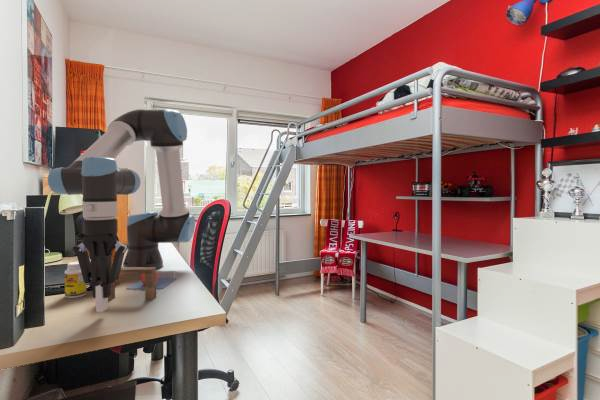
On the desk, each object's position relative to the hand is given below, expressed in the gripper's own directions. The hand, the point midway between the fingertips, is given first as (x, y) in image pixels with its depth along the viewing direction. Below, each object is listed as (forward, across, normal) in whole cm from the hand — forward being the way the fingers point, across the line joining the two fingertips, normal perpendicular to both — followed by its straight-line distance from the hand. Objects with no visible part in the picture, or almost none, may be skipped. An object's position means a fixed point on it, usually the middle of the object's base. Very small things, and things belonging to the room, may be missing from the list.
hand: (102, 309), depth 82 cm
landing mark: (+2, 0, +30) cm, 30 cm away
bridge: (+2, 0, +14) cm, 14 cm away
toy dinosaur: (+2, -16, +29) cm, 33 cm away
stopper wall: (+2, 0, +36) cm, 37 cm away
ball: (-1, 0, +28) cm, 28 cm away
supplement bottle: (+2, -18, +17) cm, 25 cm away
